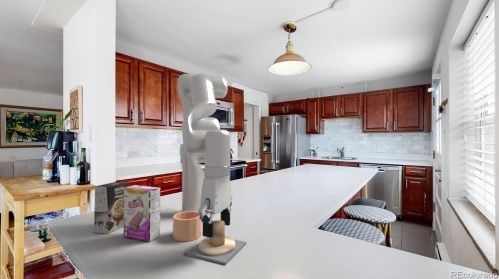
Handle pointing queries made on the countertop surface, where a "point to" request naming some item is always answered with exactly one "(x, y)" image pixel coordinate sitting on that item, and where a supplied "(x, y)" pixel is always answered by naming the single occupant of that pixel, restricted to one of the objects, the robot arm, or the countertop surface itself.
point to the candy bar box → (142, 212)
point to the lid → (217, 241)
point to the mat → (218, 259)
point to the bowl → (186, 226)
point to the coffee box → (109, 207)
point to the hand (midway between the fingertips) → (217, 230)
